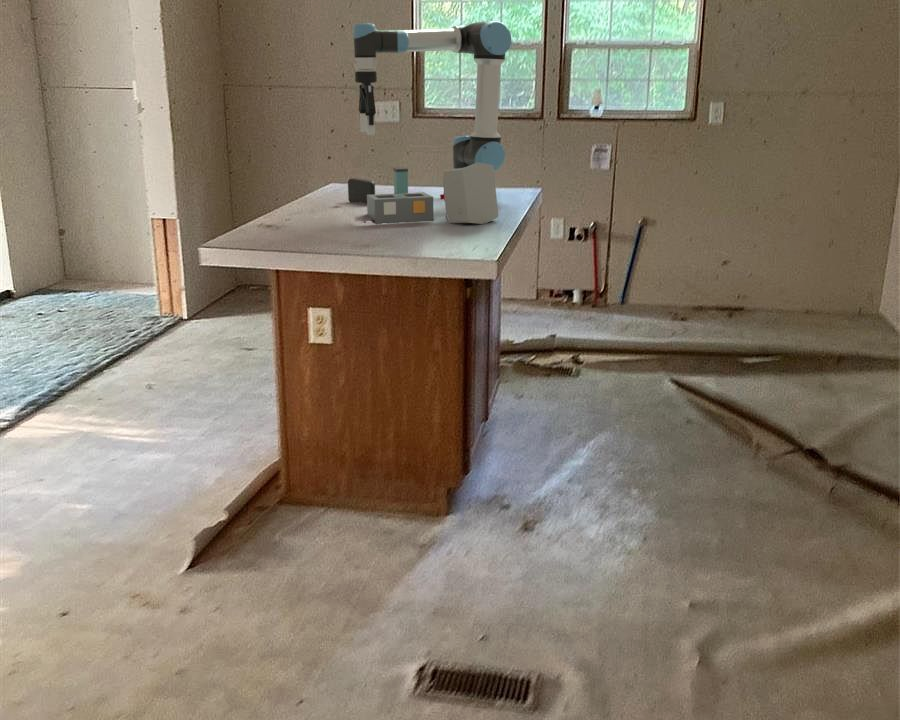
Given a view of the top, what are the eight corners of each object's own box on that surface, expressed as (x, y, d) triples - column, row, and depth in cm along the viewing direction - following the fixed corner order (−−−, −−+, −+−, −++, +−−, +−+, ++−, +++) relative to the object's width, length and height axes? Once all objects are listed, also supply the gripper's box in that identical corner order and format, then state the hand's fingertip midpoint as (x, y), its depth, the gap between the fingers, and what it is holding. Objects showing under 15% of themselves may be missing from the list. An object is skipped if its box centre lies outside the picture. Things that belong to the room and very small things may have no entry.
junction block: (423, 215, 310) (423, 192, 308) (433, 221, 299) (433, 197, 296) (367, 218, 305) (366, 194, 302) (375, 224, 293) (374, 199, 291)
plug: (405, 207, 318) (404, 167, 313) (408, 209, 314) (407, 168, 310) (394, 207, 317) (393, 167, 312) (397, 209, 313) (396, 169, 308)
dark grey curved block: (382, 207, 328) (381, 181, 325) (371, 208, 326) (371, 182, 323) (357, 202, 340) (356, 177, 337) (347, 203, 338) (346, 178, 334)
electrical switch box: (467, 222, 309) (461, 164, 305) (498, 221, 298) (493, 160, 294) (437, 227, 299) (430, 167, 295) (468, 226, 289) (462, 164, 285)
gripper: (349, 70, 321) (351, 131, 328) (361, 71, 298) (363, 136, 305) (369, 70, 323) (371, 130, 329) (383, 71, 300) (384, 135, 307)
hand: (367, 133), depth 317 cm, fingers open, 13 cm apart
